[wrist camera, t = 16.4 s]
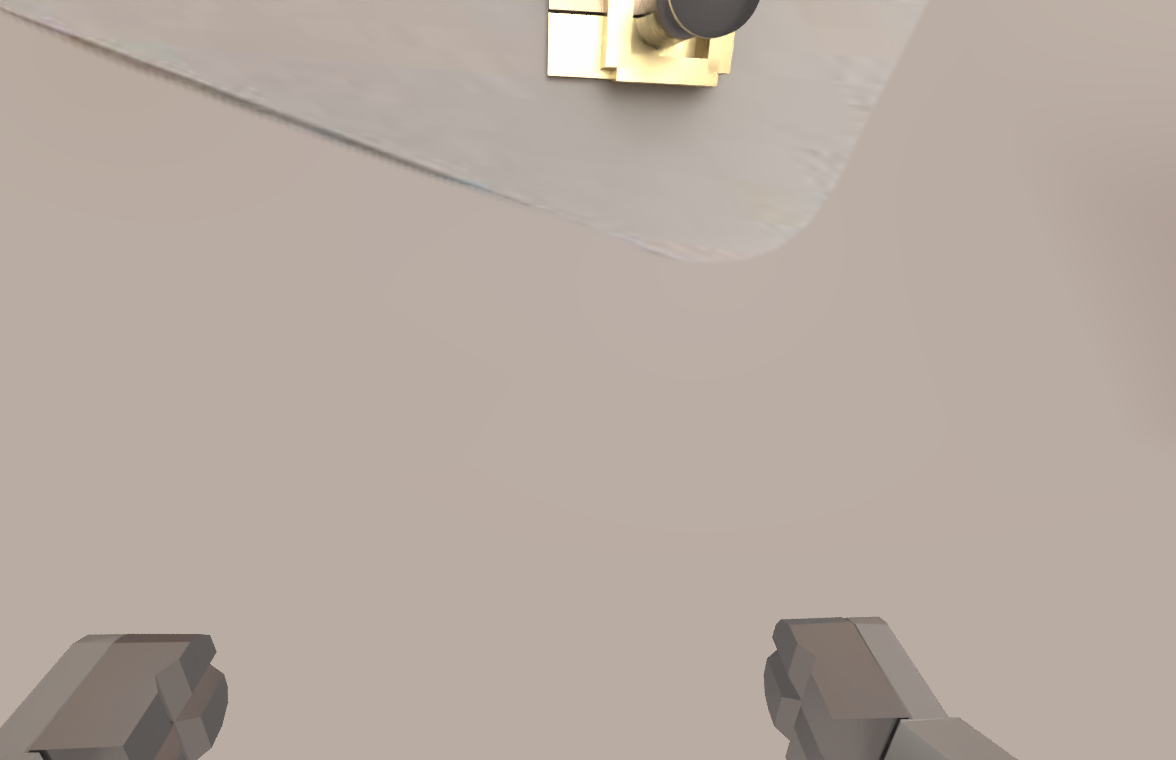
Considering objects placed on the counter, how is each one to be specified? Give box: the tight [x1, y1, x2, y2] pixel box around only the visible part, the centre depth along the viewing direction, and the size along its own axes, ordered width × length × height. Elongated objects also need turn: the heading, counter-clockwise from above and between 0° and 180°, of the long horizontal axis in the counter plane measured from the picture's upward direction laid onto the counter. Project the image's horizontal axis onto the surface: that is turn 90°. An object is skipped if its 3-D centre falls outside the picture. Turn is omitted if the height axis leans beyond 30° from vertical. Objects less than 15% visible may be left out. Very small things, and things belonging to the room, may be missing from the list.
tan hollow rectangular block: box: [548, 0, 735, 87], centre depth 35 cm, size 11×7×4 cm
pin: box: [636, 0, 759, 49], centre depth 31 cm, size 4×4×13 cm
